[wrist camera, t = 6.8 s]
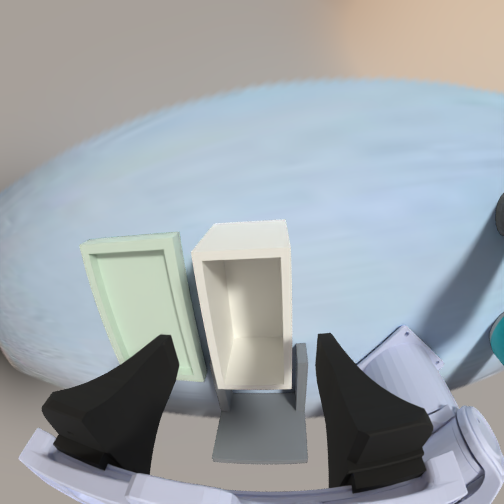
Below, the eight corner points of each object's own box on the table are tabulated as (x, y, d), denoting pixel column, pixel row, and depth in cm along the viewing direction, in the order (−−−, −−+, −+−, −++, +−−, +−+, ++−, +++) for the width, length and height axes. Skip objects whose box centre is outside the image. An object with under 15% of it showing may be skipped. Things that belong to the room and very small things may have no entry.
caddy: (288, 336, 22) (291, 388, 17) (229, 338, 23) (218, 388, 17) (285, 218, 19) (290, 247, 13) (214, 223, 20) (190, 252, 14)
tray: (207, 371, 24) (204, 382, 23) (129, 364, 25) (124, 373, 24) (179, 231, 20) (172, 237, 18) (89, 239, 21) (79, 245, 19)
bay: (302, 396, 25) (307, 462, 17) (226, 397, 26) (213, 461, 18) (305, 343, 22) (314, 417, 15) (214, 345, 23) (194, 416, 16)
